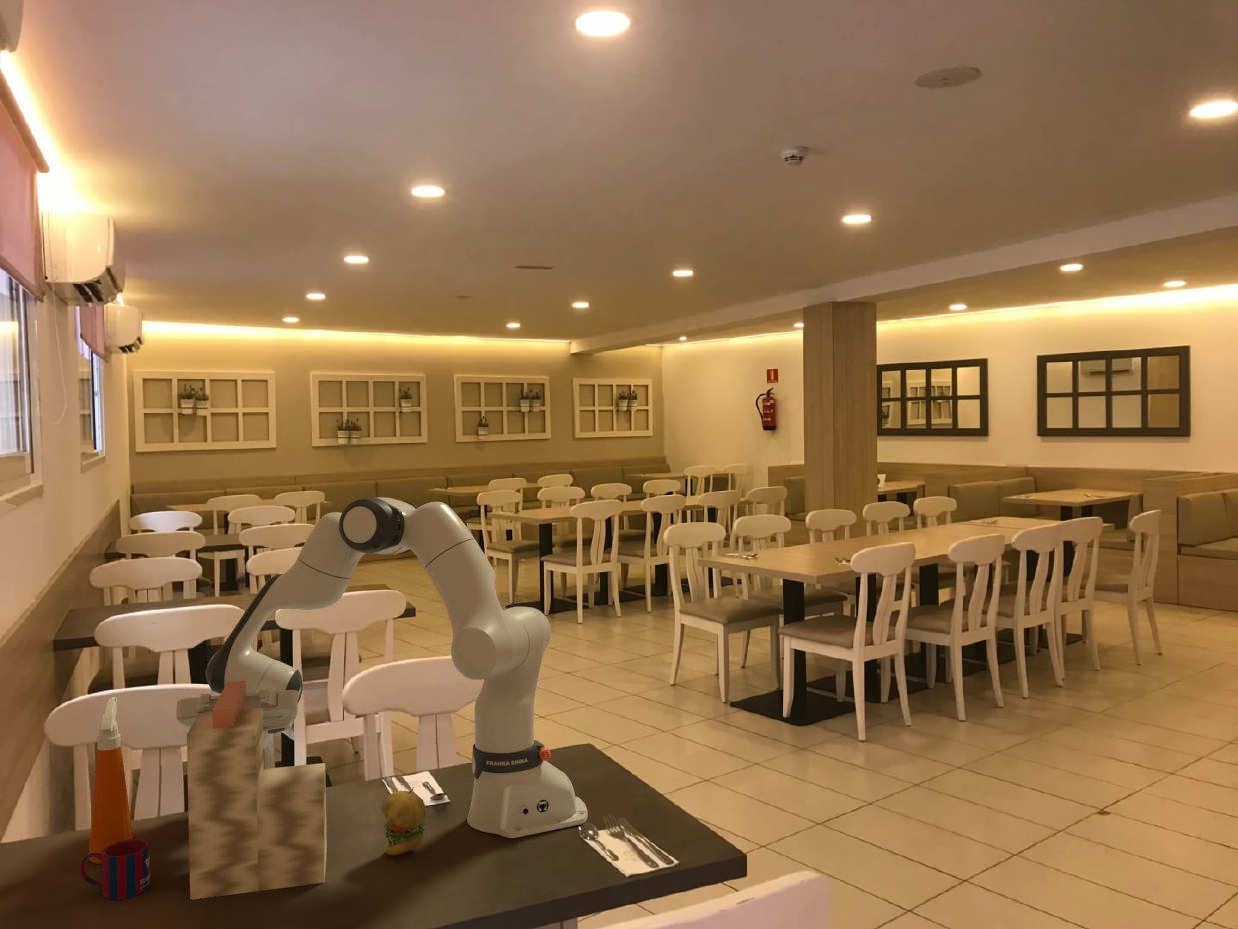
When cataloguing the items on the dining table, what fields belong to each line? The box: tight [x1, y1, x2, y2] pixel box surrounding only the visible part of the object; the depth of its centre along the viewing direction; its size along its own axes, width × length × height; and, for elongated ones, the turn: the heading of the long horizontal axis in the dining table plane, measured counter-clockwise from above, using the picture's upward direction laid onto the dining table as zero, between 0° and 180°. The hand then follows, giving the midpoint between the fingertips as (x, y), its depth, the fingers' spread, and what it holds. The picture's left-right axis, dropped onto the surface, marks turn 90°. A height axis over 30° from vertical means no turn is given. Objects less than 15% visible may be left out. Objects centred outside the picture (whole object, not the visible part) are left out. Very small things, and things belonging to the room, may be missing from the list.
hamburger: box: [381, 786, 427, 856], centre depth 162 cm, size 8×7×12 cm
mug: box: [79, 838, 151, 900], centre depth 150 cm, size 7×10×7 cm
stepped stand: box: [186, 708, 328, 900], centre depth 155 cm, size 20×12×26 cm, turn 106°
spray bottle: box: [88, 696, 134, 865], centre depth 164 cm, size 7×11×26 cm, turn 21°
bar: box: [213, 681, 246, 729], centre depth 158 cm, size 3×18×3 cm, turn 16°
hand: (234, 696), depth 163 cm, fingers open, 8 cm apart
